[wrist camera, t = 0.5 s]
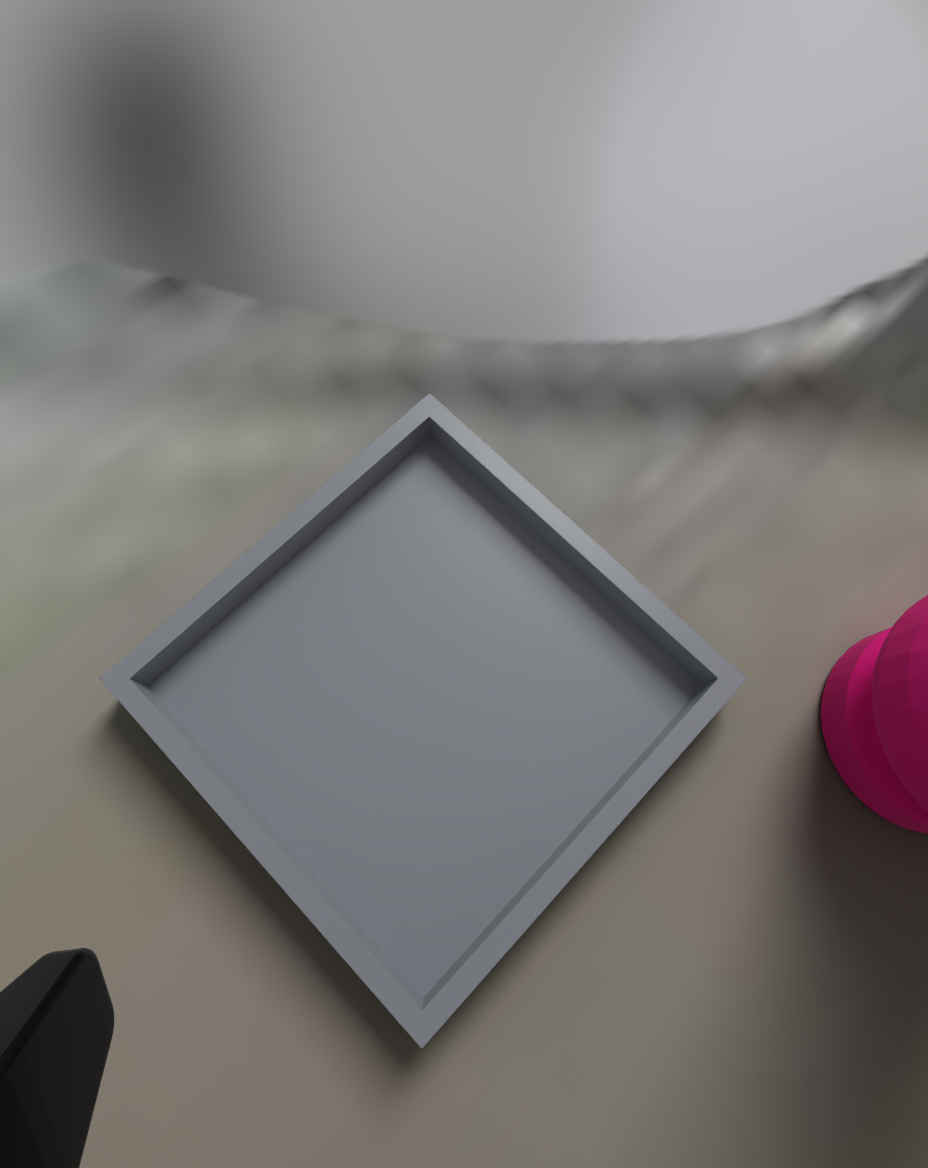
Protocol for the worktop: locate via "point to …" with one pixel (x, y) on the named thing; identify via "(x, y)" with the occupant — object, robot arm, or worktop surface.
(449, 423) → the slate tray
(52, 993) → the robot arm
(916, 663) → the pink bowling pin
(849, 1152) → the worktop surface
